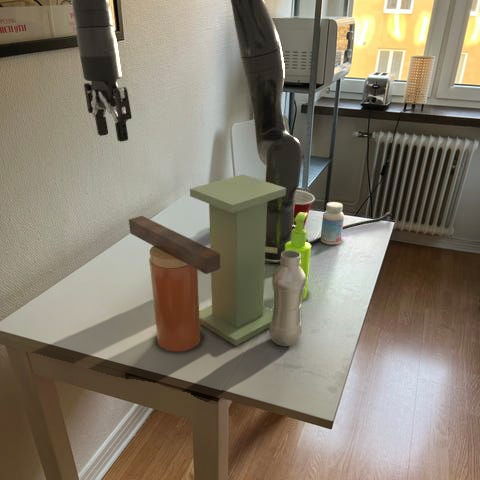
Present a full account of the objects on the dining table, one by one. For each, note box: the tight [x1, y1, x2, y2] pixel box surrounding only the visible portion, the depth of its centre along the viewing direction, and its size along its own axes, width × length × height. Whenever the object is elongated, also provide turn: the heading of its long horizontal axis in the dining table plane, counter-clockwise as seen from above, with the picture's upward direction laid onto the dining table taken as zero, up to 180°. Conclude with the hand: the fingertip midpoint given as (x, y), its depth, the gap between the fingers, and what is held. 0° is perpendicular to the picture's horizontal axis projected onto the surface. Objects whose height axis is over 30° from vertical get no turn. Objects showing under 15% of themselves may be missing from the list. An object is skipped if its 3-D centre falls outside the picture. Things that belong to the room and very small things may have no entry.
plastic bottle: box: [268, 250, 306, 347], centre depth 98 cm, size 6×7×20 cm
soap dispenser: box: [285, 212, 312, 301], centre depth 114 cm, size 6×7×20 cm
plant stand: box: [189, 174, 286, 346], centre depth 102 cm, size 14×14×30 cm
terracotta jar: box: [148, 245, 201, 352], centre depth 98 cm, size 9×9×20 cm
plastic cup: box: [293, 189, 316, 230], centre depth 148 cm, size 11×11×12 cm
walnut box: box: [128, 215, 220, 275], centre depth 92 cm, size 24×3×3 cm, turn 43°
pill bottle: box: [320, 201, 345, 245], centre depth 144 cm, size 6×6×11 cm
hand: (113, 137), depth 106 cm, fingers open, 8 cm apart
